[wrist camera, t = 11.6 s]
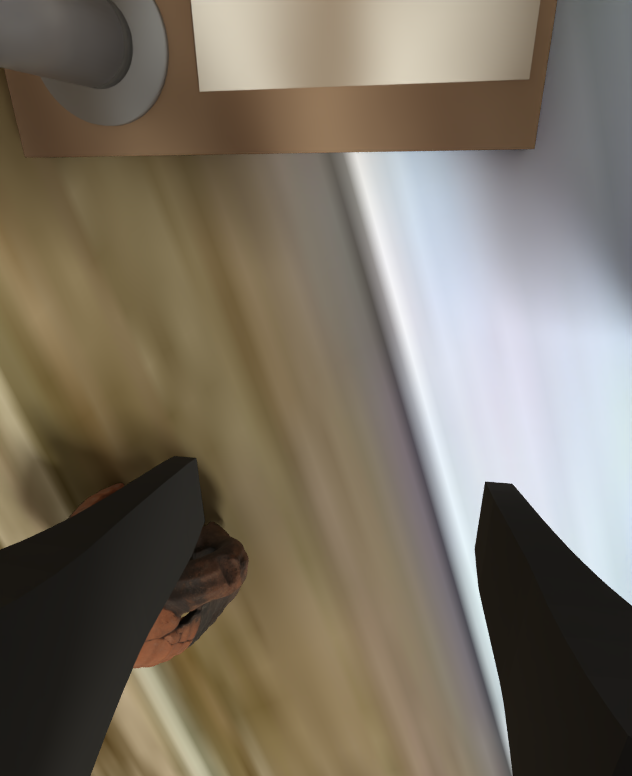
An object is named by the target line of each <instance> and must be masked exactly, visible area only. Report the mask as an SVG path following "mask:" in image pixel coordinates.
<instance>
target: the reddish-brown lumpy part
mask: <svg viewBox="0 0 632 776" xmlns="http://www.w3.org/2000/svg"><path fill="white" fill-rule="evenodd" d="M122 487H124V484H123V483H118V484H115V485H112V486H110V487H108V488H105V489H103V490H101V491H99V492H98V493H96V494H95V495H92V496H90V497H89V498H87V499H86V500H85V501H83V502H82V503H81V504H80V506H79V507H78V508H77V509H76V510H75V511H74V512H73V513H72V514H71V516H70V517H69V518H71V517H72V516H74V515H76V514H78V513H79V512H81V511H83V510H85V509H87V508H88V507H90V506H92V505H94V504H95V503H97V502H99V501H101V500H102V499H104V498H106V497H108V496H109V495H111V494H113V493H114V492H116V491H117V490H119V489H121V488H122ZM69 518H68V519H69ZM247 567H248V556H247V553H246V552H245V550H244V547H243V545H242V544H241V543H240V542H239V541H238V540H236V539H234V538H232V537H230V536H229V534H228V533H227V532H226V531H225V530H224V529H223V528H222V527H220V526H219V525H218V524H216V523H215V522H209V524H208V525H207V526H203V527H202V530H201V533H200V536H199V538H198V541H197V543H196V546H195V548H194V551H193V553H192V556H191V558H190V560H189V562H188V563H187V565H186V567H185V569H184V571H183V573H182V575H181V576H180V578H179V580H178V582H177V584H176V586H175V587H174V589H173V591H172V593H171V595H170V596H169V598H168V600H167V602H166V604H165V605H164V607H163V609H162V611H161V613H160V614H159V616H158V618H157V620H156V622H155V623H154V625H153V627H152V629H151V631H150V632H149V634H148V636H147V638H146V640H145V642H144V644H143V646H142V648H141V650H140V653H139V655H138V657H137V660H136V662H135V664H134V667H133V668H141V667H152V666H155V665H157V664H159V663H162V662H165V661H168V660H170V659H171V658H172V657H174V656H175V655H178V654H180V653H182V652H183V651H184V650H186V649H187V648H188V647H189V646H191V645H192V644H193V643H194V642H195V641H196V640H198V639H199V638H200V636H201V635H202V634H203V633H204V632H205V631H206V630H207V629H208V627H209V626H211V625H212V624H213V623H214V622H215V621H216V619H217V617H218V616H219V615H220V614H221V613H222V612H223V610H224V608H225V607H226V606H227V605H228V603H230V602H231V601H232V600H233V599H234V597H235V596H236V595H237V593H238V591H239V589H240V587H241V585H242V583H243V582H244V580H245V579H246V576H247ZM186 612H189V613H188V614H187V615H186V616H184V617H182V618H181V615H182V614H184V613H186Z"/></svg>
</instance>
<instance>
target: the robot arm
mask: <svg viewBox="0 0 632 776" xmlns="http://www.w3.org/2000/svg"><path fill="white" fill-rule="evenodd" d="M204 522H205V519H204V512H203V504H202V497H201V490H200V482H199V475H198V467H197V460H196V458H190V457H178V456H174V457H172V458H170V459H168V460H166V461H164V462H163V463H161V464H159V465H158V466H156V467H154V468H153V469H151V470H150V471H148V472H146V473H145V474H143V475H142V476H140V477H138V478H137V479H135V480H134V481H132V482H130V483H129V484H127V485H126V486H124V487H122V488H121V489H119V490H117V491H116V492H114V493H113V494H111V495H109V496H108V497H106V498H104V499H102V500H101V501H99V502H97V503H95V504H94V505H92V506H90V507H88V508H87V509H85V510H83V511H81V512H79V513H78V514H76V515H74V516H72V517H71V518H69V519H67V520H65V521H63V522H61V523H59V524H57V525H55V526H53V527H51V528H49V529H47V530H45V531H42V532H40V533H38V534H36V535H34V536H32V537H30V538H27V539H25V540H23V541H21V542H18V543H16V544H13V545H11V546H8V547H6V548H3V549H1V550H0V776H90V775H91V773H92V770H93V767H94V764H95V762H96V759H97V756H98V754H99V751H100V748H101V746H102V743H103V740H104V738H105V735H106V732H107V730H108V727H109V725H110V722H111V720H112V717H113V715H114V712H115V710H116V707H117V705H118V702H119V700H120V697H121V695H122V692H123V690H124V688H125V685H126V683H127V681H128V678H129V676H130V674H131V671H132V669H133V667H134V664H135V662H136V660H137V657H138V655H139V653H140V650H141V648H142V646H143V644H144V642H145V640H146V638H147V636H148V634H149V632H150V631H151V629H152V627H153V625H154V623H155V622H156V620H157V618H158V616H159V614H160V613H161V611H162V609H163V607H164V605H165V604H166V602H167V600H168V598H169V596H170V595H171V593H172V591H173V589H174V587H175V586H176V584H177V582H178V580H179V578H180V576H181V575H182V573H183V571H184V569H185V567H186V565H187V563H188V562H189V560H190V558H191V556H192V553H193V551H194V548H195V546H196V543H197V541H198V538H199V536H200V533H201V530H202V527H203V525H204ZM475 557H476V568H477V578H478V587H479V592H480V597H481V601H482V606H483V610H484V615H485V619H486V624H487V628H488V632H489V637H490V641H491V646H492V650H493V654H494V659H495V663H496V667H497V672H498V676H499V680H500V686H501V691H502V696H503V702H504V709H505V716H506V724H507V732H508V740H509V747H510V755H511V764H512V773H513V776H632V606H631V605H630V604H629V603H628V602H627V601H625V600H624V599H623V598H622V597H621V596H619V595H618V594H617V593H616V592H615V591H614V590H612V589H611V588H610V587H609V586H608V585H607V584H606V583H604V582H603V581H602V580H601V579H600V578H599V577H598V576H597V575H596V574H595V573H594V572H593V571H592V570H591V569H589V568H588V567H587V566H586V565H585V564H584V563H583V562H582V561H581V560H580V559H579V558H578V557H577V556H576V555H575V554H574V553H573V552H572V551H571V550H570V549H569V548H568V547H567V546H566V545H565V543H564V542H563V541H562V540H561V539H560V538H559V537H558V536H557V535H556V534H555V533H554V532H553V531H552V529H551V528H550V527H549V526H548V525H547V524H546V523H545V521H544V520H543V519H542V518H541V517H540V516H539V515H538V513H537V512H536V511H535V510H534V509H533V508H532V506H531V505H530V504H529V503H528V502H527V500H526V499H525V498H524V497H523V496H522V494H521V493H520V492H519V491H518V490H517V489H516V488H515V486H514V485H513V484H508V483H496V482H485V486H484V493H483V499H482V505H481V512H480V518H479V525H478V531H477V538H476V544H475Z"/></svg>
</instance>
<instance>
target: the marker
mask: <svg viewBox="0 0 632 776" xmlns="http://www.w3.org/2000/svg"><path fill="white" fill-rule="evenodd" d="M132 55H133V41H132V35H131V31H130V28H129V25H128V23H127V20H126V19H125V17H124V15H123V13H122V12H121V10H120V9H119V8H118V7H117V6H116V4H115V3H113V2H112V1H111V0H0V67H1V68H6V69H10V70H14V71H19V72H23V73H28V74H32V75H37V76H41V77H46V78H50V79H54V80H59V81H63V82H68V83H72V84H77V85H81V86H86V87H90V88H95V89H108V88H111V87H113V86H115V85H117V84H118V83H119V82H121V80H122V79H123V78H124V77H125V76H126V74H127V72H128V70H129V68H130V65H131V61H132Z"/></svg>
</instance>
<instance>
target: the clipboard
mask: <svg viewBox="0 0 632 776" xmlns="http://www.w3.org/2000/svg"><path fill="white" fill-rule="evenodd" d="M111 1H112V2H113V3H115V4H116V6H117V7H118V8H119V9H120V10H121V12H122V13H123V15H124V17H125V19H126V20H127V23H128V25H129V28H130V31H131V35H132V41H133V55H132V61H131V65H130V68H129V70H128V72H127V74H126V76H125V77H124V78H123V79H122V80H121V82H119V83H118V84H117V85H115V86H113V87H111V88H108V89H95V88H90V87H86V86H81V85H77V84H72V83H68V82H63V81H59V80H54V79H50V78H46V77H41V76H37V75H32V74H28V73H23V72H19V71H14V70H10V69H6V68H4V71H5V75H6V79H7V83H8V88H9V92H10V96H11V100H12V105H13V109H14V113H15V117H16V122H17V126H18V130H19V134H20V139H21V143H22V147H23V151H24V156H25V157H93V156H153V155H212V154H272V153H331V152H391V151H450V150H510V149H534V148H535V141H536V135H537V128H538V122H539V115H540V109H541V102H542V96H543V89H544V83H545V76H546V70H547V63H548V57H549V50H550V44H551V37H552V31H553V24H554V18H555V11H556V5H557V0H111Z"/></svg>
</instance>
